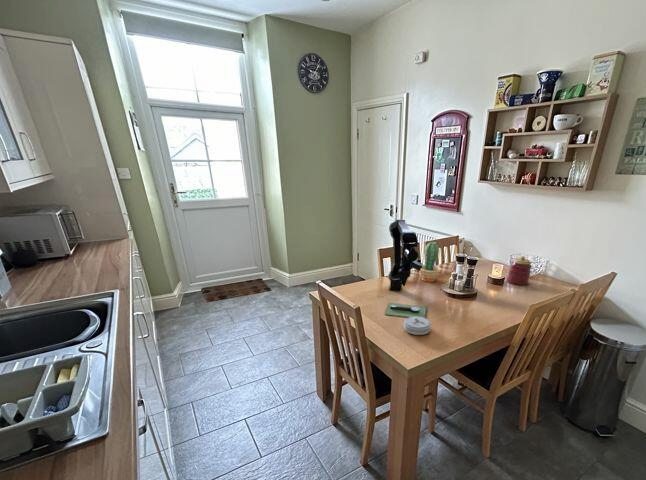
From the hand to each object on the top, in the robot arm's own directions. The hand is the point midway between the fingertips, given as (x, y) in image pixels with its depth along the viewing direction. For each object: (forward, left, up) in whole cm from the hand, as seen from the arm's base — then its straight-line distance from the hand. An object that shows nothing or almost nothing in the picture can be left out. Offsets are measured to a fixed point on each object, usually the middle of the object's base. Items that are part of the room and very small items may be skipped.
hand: (404, 282), depth 179 cm
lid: (+10, -31, -12) cm, 34 cm away
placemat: (+3, -12, -11) cm, 17 cm away
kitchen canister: (+70, +52, -12) cm, 88 cm away
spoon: (+2, -12, -11) cm, 16 cm away
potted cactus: (+12, +41, -12) cm, 44 cm away
